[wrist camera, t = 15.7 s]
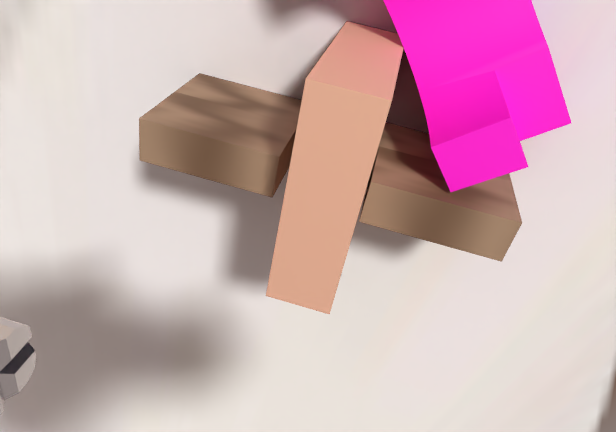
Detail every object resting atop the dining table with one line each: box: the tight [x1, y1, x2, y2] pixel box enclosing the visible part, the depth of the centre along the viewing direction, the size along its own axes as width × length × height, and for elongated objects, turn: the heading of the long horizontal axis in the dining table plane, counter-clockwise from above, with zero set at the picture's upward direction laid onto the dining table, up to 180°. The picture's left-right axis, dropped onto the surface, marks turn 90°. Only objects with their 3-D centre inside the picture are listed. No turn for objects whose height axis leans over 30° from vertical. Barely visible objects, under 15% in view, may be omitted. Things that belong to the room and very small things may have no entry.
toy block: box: [383, 0, 571, 192], centre depth 24 cm, size 15×6×8 cm, turn 29°
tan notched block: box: [266, 21, 404, 314], centre depth 27 cm, size 4×12×11 cm, turn 170°
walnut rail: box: [139, 73, 522, 262], centre depth 29 cm, size 20×2×8 cm, turn 79°
